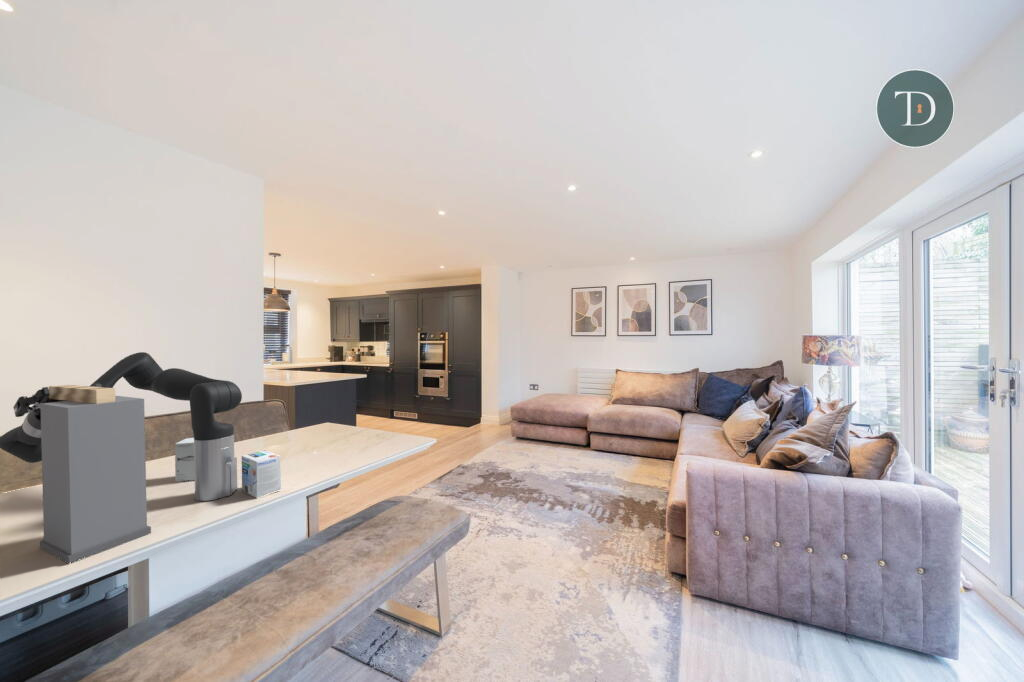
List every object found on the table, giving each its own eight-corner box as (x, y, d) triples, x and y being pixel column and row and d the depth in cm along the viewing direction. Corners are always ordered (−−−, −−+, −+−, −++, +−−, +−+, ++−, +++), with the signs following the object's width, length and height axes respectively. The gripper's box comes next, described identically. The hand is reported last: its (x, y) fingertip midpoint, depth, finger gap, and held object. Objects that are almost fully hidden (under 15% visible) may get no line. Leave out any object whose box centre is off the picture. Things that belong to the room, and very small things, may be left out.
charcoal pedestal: (39, 548, 82) (35, 403, 82) (120, 521, 94) (117, 395, 94) (69, 564, 76) (65, 408, 76) (150, 533, 88) (147, 398, 88)
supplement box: (174, 482, 119) (173, 443, 119) (187, 474, 126) (186, 437, 126) (201, 480, 121) (200, 441, 121) (213, 472, 128) (212, 435, 128)
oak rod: (49, 398, 89) (48, 386, 89) (67, 396, 92) (67, 384, 92) (96, 403, 81) (96, 390, 81) (115, 401, 84) (115, 388, 84)
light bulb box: (241, 491, 112) (240, 455, 112) (265, 483, 118) (265, 449, 118) (257, 499, 106) (256, 461, 106) (282, 491, 112) (281, 455, 112)
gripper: (0, 409, 89) (22, 377, 83) (87, 400, 102) (111, 371, 96) (7, 438, 87) (29, 407, 82) (94, 424, 101) (118, 397, 95)
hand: (73, 388), depth 89 cm, fingers open, 8 cm apart
